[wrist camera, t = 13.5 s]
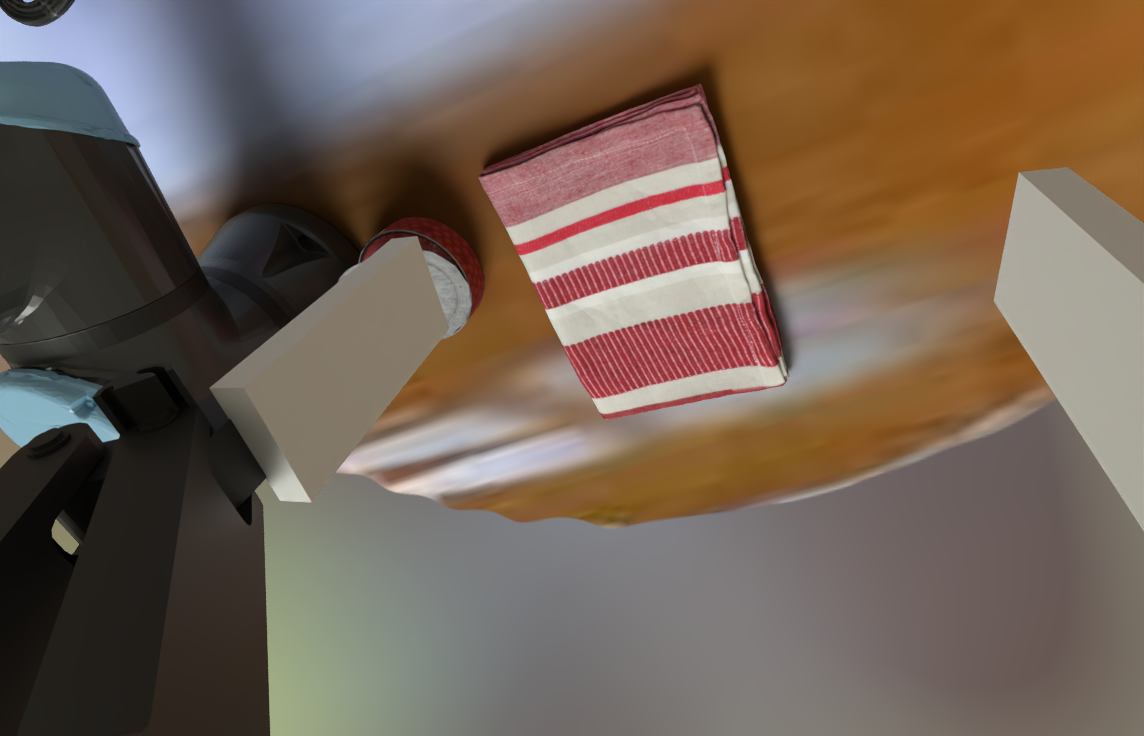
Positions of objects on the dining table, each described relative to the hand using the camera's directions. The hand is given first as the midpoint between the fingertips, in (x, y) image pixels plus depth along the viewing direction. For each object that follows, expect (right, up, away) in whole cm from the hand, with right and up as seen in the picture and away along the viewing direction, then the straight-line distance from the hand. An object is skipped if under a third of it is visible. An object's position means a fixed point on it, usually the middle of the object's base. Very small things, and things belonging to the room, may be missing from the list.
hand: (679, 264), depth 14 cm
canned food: (-14, +6, +37) cm, 40 cm away
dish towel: (+3, +5, +33) cm, 33 cm away
